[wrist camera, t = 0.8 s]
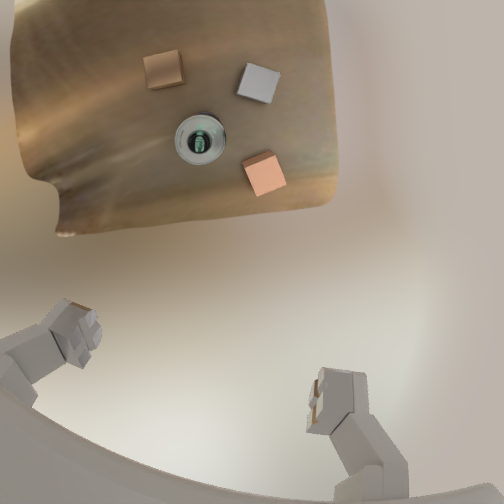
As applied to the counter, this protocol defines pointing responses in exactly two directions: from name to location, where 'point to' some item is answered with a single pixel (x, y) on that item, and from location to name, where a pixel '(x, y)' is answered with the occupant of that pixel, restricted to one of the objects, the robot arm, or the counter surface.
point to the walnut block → (164, 70)
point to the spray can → (200, 138)
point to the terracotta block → (264, 173)
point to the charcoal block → (258, 83)
